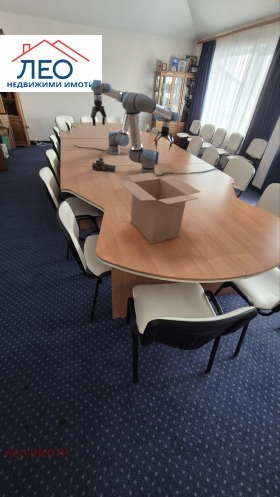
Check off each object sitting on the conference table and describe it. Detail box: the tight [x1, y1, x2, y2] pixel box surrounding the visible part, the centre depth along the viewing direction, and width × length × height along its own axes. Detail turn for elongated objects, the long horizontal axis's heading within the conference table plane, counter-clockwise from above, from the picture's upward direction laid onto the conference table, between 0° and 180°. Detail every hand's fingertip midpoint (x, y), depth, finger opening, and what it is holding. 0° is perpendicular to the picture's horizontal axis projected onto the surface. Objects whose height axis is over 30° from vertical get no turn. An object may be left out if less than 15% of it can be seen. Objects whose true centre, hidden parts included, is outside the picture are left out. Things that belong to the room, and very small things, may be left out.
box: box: [117, 173, 201, 245], centre depth 124 cm, size 44×36×27 cm
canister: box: [154, 150, 160, 165], centre depth 242 cm, size 7×7×12 cm
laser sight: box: [91, 157, 117, 173], centre depth 211 cm, size 10×22×10 cm, turn 78°
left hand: (99, 125), depth 223 cm, fingers open, 13 cm apart
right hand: (162, 149), depth 226 cm, fingers open, 13 cm apart
